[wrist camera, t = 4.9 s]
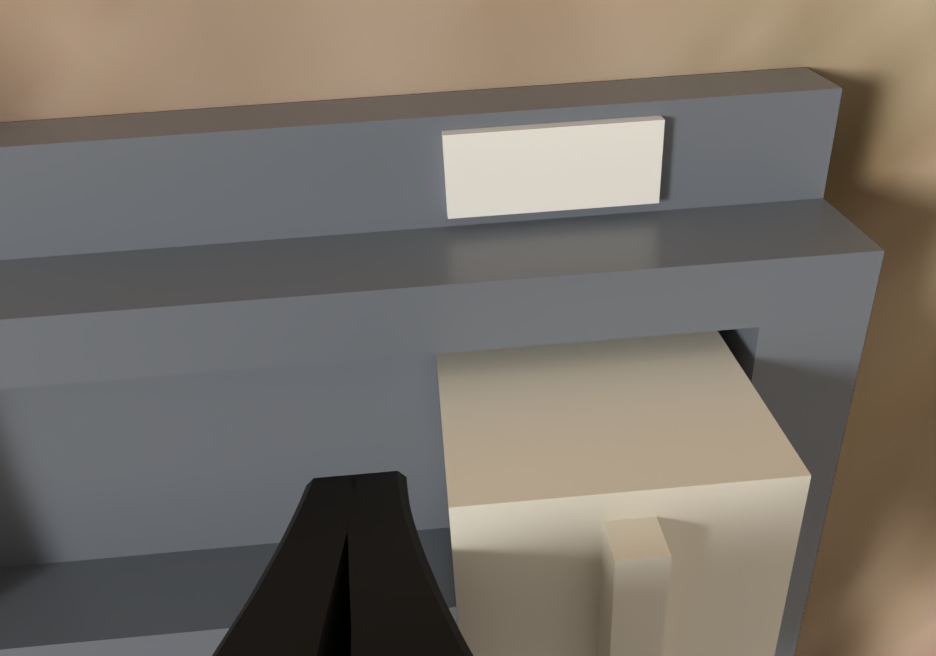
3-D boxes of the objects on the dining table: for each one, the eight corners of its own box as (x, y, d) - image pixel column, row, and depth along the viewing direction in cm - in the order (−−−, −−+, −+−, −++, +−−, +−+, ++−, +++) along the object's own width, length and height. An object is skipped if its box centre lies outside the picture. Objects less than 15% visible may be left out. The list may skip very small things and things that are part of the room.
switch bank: (697, 778, 22) (739, 911, 19) (65, 843, 21) (18, 990, 18) (805, 67, 13) (916, 130, 10) (-306, 143, 12) (-507, 233, 9)
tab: (678, 502, 15) (782, 747, 11) (449, 522, 15) (470, 778, 11) (698, 302, 13) (836, 513, 9) (433, 322, 13) (451, 548, 9)
